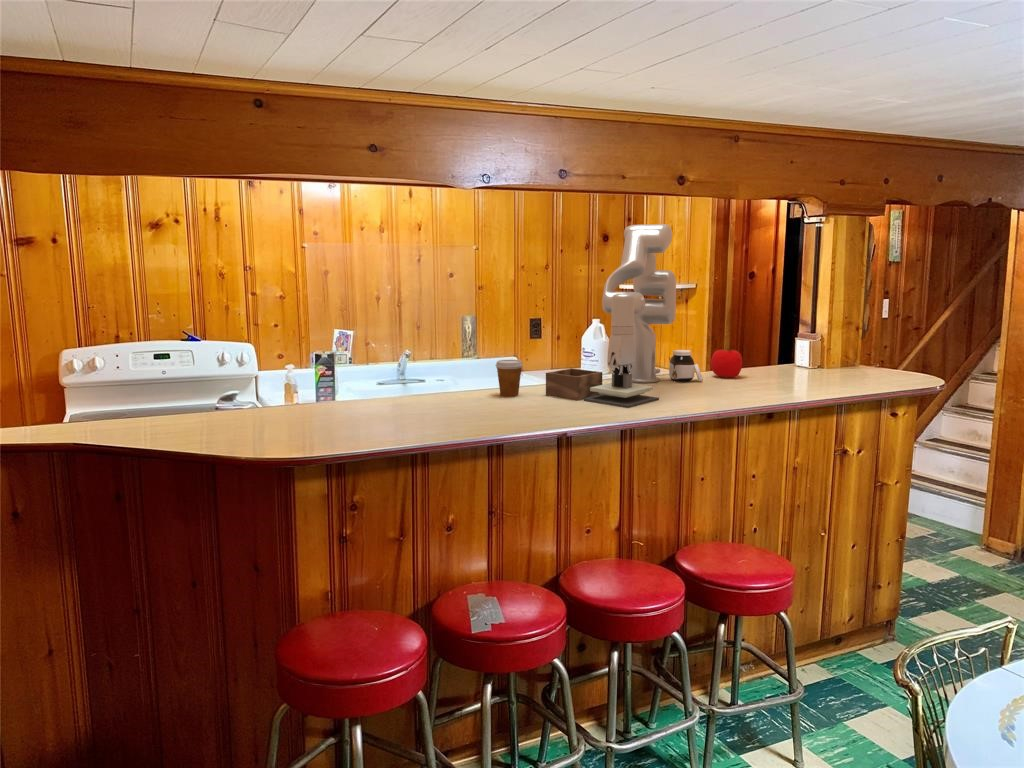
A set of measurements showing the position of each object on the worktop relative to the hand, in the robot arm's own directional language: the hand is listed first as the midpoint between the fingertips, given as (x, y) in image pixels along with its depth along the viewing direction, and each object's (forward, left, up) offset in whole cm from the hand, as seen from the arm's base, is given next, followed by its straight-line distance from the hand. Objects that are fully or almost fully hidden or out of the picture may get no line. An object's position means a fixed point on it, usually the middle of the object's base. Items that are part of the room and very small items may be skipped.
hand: (621, 385), depth 247 cm
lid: (0, 0, -3) cm, 3 cm away
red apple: (-67, +3, -5) cm, 67 cm away
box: (+3, -18, -5) cm, 19 cm away
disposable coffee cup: (+18, -35, -5) cm, 40 cm away
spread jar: (-49, -4, -5) cm, 49 cm away
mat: (0, 0, -5) cm, 5 cm away
